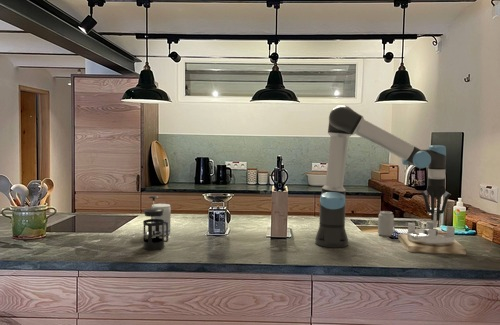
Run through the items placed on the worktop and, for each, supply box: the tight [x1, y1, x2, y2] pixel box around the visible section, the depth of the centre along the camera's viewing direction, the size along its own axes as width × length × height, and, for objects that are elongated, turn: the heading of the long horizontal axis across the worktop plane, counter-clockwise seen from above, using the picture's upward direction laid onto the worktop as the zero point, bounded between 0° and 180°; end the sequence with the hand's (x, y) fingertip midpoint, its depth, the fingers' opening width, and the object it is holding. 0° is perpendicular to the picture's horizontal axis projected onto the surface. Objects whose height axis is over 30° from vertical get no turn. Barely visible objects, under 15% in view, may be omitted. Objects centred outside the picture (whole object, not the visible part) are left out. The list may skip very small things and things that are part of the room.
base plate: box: [397, 233, 467, 255], centre depth 198 cm, size 24×22×3 cm
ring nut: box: [406, 220, 456, 246], centre depth 198 cm, size 20×20×7 cm
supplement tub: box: [150, 203, 172, 236], centre depth 214 cm, size 10×10×15 cm
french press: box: [142, 195, 169, 251], centre depth 189 cm, size 12×9×23 cm
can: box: [377, 210, 395, 237], centre depth 218 cm, size 8×8×12 cm
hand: (435, 227), depth 204 cm, fingers closed
